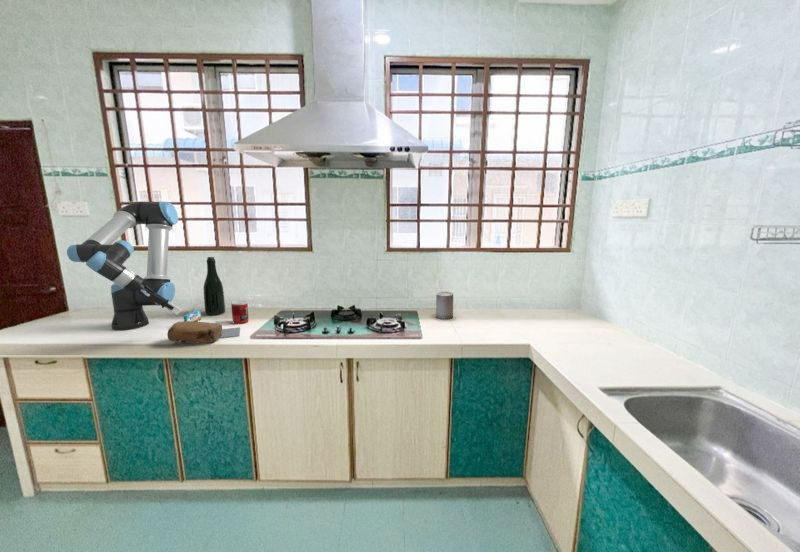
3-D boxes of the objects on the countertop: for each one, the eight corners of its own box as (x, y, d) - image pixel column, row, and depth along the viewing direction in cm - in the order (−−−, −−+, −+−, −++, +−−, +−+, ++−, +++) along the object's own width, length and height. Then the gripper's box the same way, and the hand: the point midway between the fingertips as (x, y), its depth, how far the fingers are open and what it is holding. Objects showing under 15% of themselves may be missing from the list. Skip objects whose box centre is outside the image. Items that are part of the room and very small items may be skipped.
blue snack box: (187, 327, 176) (186, 315, 175) (184, 327, 176) (183, 315, 175) (201, 320, 188) (200, 309, 187) (198, 320, 188) (197, 309, 187)
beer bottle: (229, 312, 202) (224, 256, 197) (211, 317, 194) (206, 258, 188) (219, 310, 208) (214, 255, 202) (201, 314, 199) (196, 257, 193)
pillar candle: (452, 314, 202) (453, 289, 200) (453, 319, 193) (453, 293, 190) (435, 314, 203) (436, 289, 201) (435, 319, 194) (436, 292, 191)
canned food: (242, 324, 181) (241, 304, 179) (229, 323, 182) (227, 303, 180) (251, 320, 188) (250, 300, 186) (238, 319, 190) (237, 300, 188)
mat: (185, 333, 166) (185, 333, 166) (240, 328, 176) (240, 327, 176) (180, 343, 155) (180, 342, 155) (239, 336, 164) (239, 335, 164)
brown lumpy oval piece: (180, 319, 161) (223, 322, 161) (181, 334, 162) (224, 337, 163) (164, 327, 150) (211, 330, 150) (166, 343, 152) (212, 346, 152)
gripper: (122, 285, 151) (171, 315, 164) (121, 290, 141) (174, 322, 154) (136, 272, 154) (183, 303, 167) (136, 276, 143) (187, 309, 156)
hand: (179, 312), depth 160 cm, fingers closed
